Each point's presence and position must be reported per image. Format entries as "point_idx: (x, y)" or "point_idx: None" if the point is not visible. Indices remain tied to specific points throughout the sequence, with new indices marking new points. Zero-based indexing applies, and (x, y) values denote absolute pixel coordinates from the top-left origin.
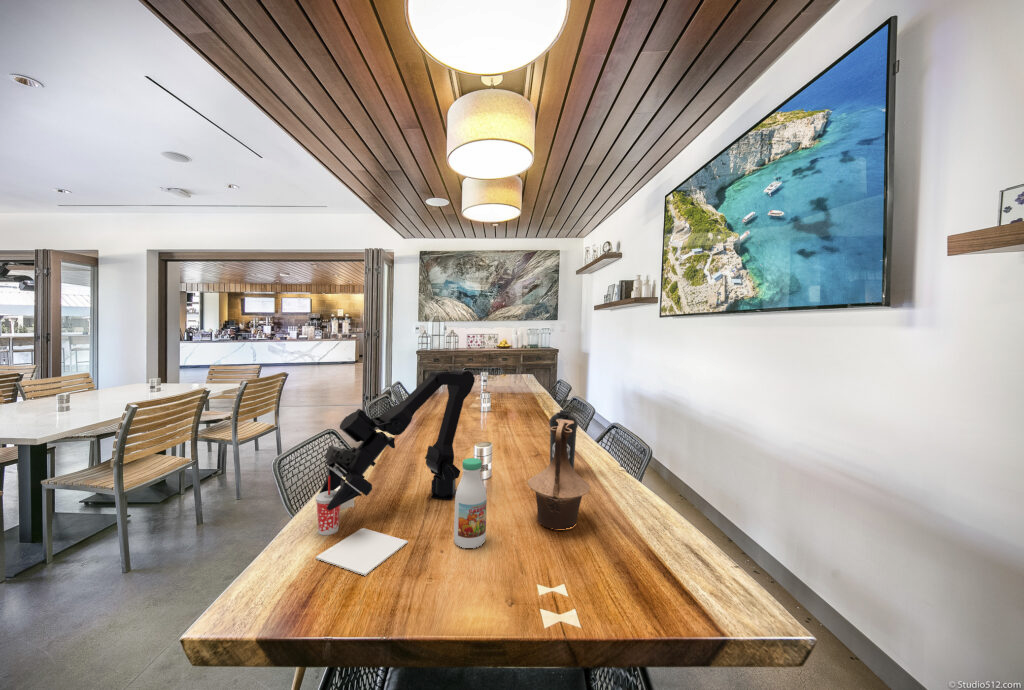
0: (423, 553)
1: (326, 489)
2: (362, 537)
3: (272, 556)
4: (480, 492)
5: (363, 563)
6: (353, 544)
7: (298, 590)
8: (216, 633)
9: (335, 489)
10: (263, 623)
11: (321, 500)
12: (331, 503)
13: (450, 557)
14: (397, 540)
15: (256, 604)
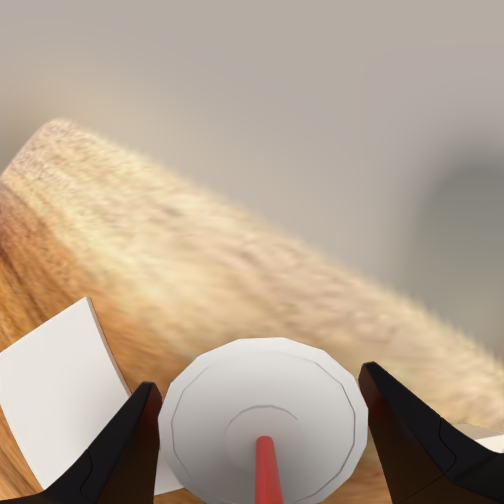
0: (20, 490)
1: (391, 432)
2: None
3: (187, 194)
4: None
5: (10, 382)
6: (89, 415)
7: (22, 237)
8: (37, 133)
9: (484, 438)
10: (7, 184)
11: (190, 366)
12: (120, 411)
13: None
14: None
15: (43, 170)
